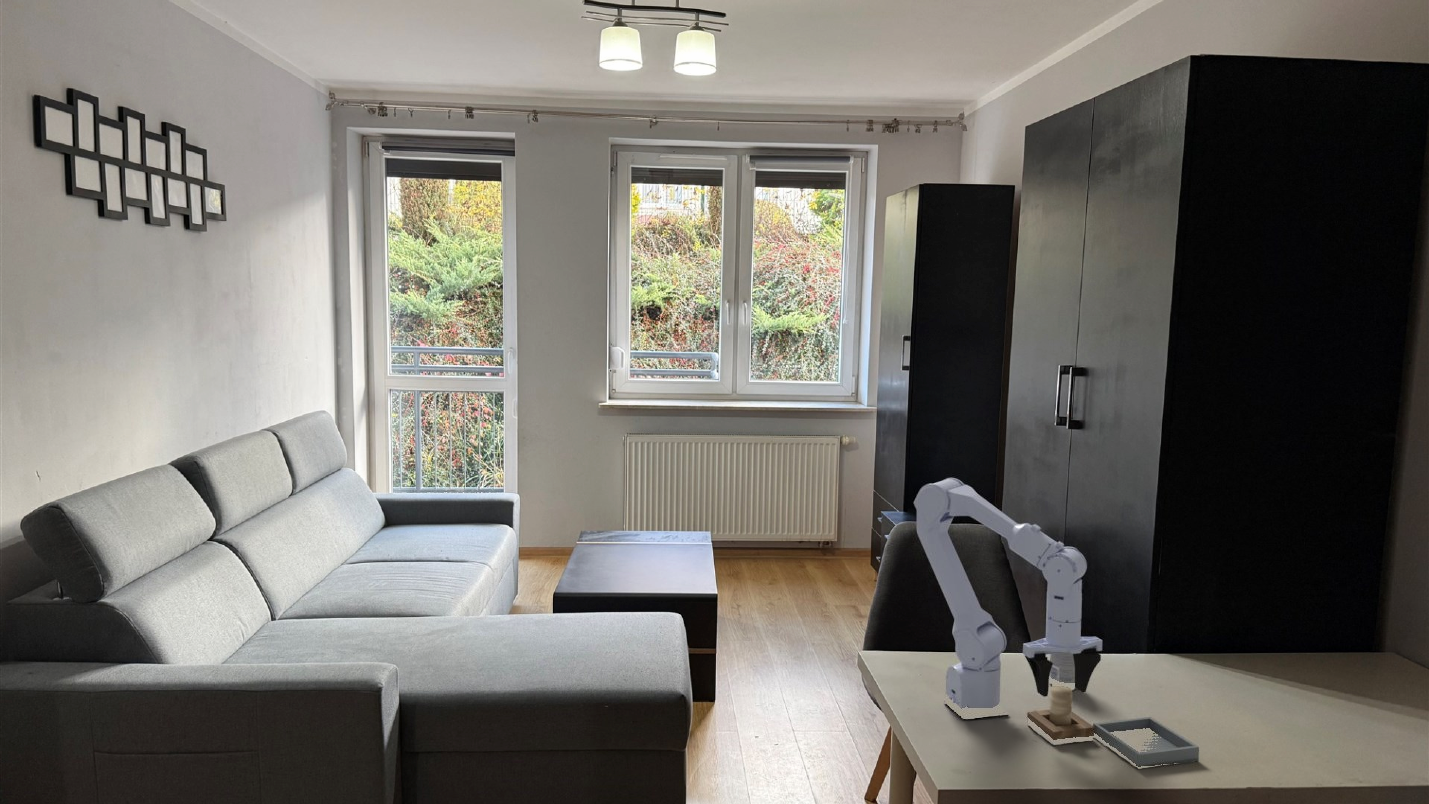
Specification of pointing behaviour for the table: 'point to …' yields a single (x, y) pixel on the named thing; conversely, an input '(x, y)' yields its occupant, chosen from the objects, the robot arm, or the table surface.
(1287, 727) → the table surface
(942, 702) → the table surface
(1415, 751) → the table surface
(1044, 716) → the frame
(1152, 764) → the tray
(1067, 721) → the dowel
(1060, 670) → the energy drink
